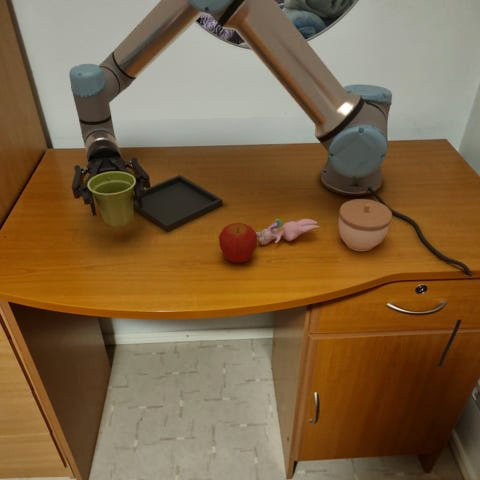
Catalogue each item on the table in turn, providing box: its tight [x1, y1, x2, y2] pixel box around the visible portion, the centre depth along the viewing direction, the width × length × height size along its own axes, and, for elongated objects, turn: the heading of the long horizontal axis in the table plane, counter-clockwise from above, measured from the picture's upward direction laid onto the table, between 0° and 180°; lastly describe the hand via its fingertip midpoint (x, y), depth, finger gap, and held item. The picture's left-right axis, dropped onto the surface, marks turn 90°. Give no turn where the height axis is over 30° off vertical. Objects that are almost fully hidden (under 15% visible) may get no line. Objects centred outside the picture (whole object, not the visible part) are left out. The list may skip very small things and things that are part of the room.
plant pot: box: [88, 171, 136, 228], centre depth 99 cm, size 9×9×9 cm
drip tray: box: [133, 174, 224, 233], centre depth 115 cm, size 17×17×2 cm
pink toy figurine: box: [255, 218, 321, 246], centre depth 104 cm, size 6×6×15 cm
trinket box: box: [337, 198, 393, 252], centre depth 101 cm, size 11×11×9 cm
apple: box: [218, 222, 258, 264], centre depth 98 cm, size 8×8×8 cm
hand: (117, 205), depth 95 cm, fingers closed on plant pot, 8 cm apart
